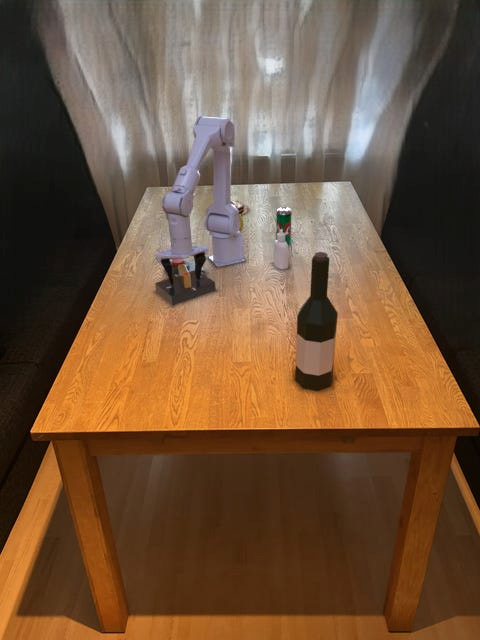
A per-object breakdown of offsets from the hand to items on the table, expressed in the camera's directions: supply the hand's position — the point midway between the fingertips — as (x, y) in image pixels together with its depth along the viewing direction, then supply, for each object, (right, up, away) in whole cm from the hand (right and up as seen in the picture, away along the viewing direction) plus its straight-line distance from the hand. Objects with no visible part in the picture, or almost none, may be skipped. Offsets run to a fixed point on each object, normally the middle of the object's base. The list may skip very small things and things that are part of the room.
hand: (184, 280), depth 150 cm
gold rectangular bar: (0, 0, 0) cm, 1 cm away
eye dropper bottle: (+28, +5, +14) cm, 32 cm away
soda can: (+30, +15, +29) cm, 45 cm away
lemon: (+14, +19, +37) cm, 44 cm away
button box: (-1, +4, +13) cm, 13 cm away
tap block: (0, -3, +2) cm, 4 cm away
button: (-3, +5, +11) cm, 12 cm away
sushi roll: (+11, +32, +57) cm, 66 cm away
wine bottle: (+32, -24, -34) cm, 53 cm away
